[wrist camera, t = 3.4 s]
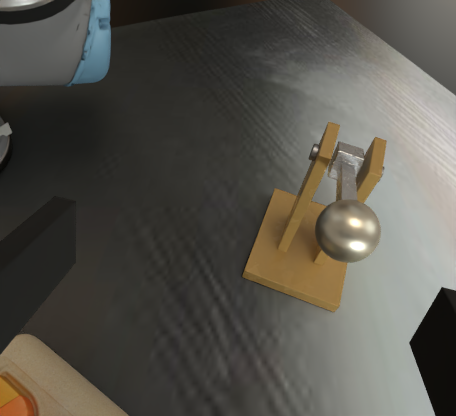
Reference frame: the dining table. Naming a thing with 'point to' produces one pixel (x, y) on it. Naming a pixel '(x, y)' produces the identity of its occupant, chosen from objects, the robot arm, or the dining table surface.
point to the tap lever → (347, 212)
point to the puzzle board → (46, 384)
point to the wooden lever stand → (307, 231)
